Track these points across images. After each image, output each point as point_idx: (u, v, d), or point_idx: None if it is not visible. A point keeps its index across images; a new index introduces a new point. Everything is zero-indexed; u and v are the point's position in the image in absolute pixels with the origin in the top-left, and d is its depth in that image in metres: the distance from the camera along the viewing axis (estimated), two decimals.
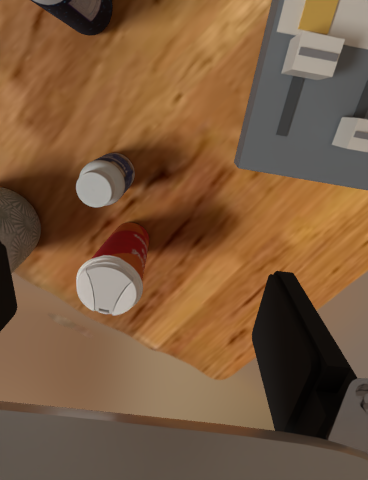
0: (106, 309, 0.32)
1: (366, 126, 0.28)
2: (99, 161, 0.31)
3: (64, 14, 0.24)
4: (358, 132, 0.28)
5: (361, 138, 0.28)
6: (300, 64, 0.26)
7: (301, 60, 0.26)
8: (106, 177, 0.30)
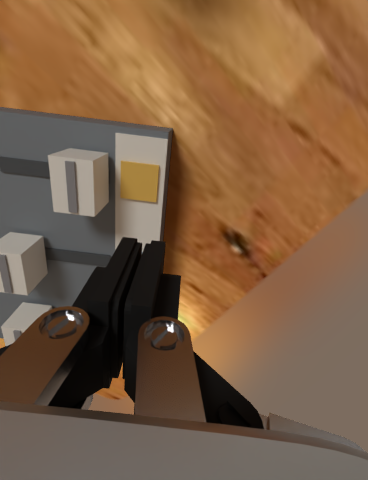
0: None
1: (14, 265, 0.22)
2: None
3: None
4: (4, 258, 0.22)
5: None
6: (56, 166, 0.19)
7: (60, 166, 0.19)
8: None
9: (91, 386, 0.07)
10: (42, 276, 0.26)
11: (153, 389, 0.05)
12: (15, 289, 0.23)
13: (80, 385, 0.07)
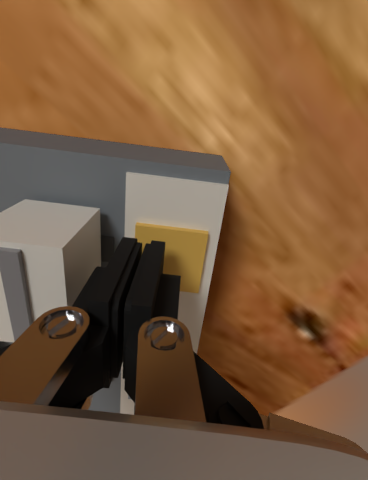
0: None
1: None
2: None
3: None
4: None
5: None
6: None
7: None
8: None
9: (91, 385, 0.07)
10: None
11: (153, 389, 0.05)
12: None
13: (80, 385, 0.07)
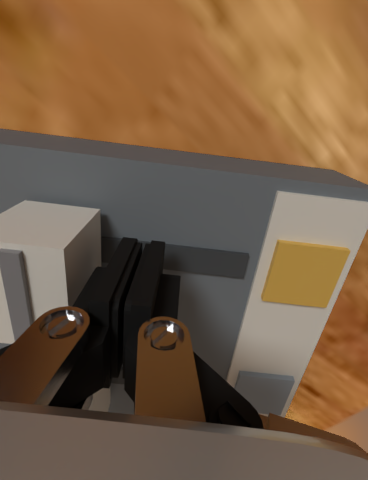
0: None
1: None
2: None
3: None
4: None
5: None
6: None
7: None
8: None
9: (91, 386, 0.07)
10: None
11: (153, 389, 0.05)
12: None
13: (80, 385, 0.07)
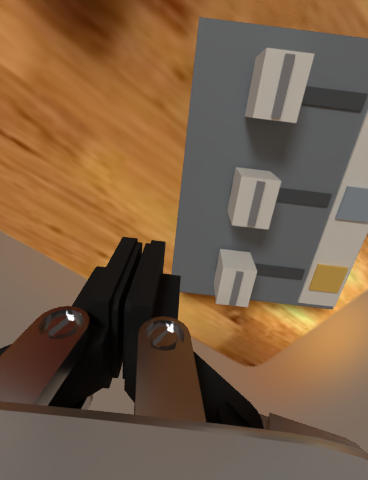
0: None
1: (269, 194, 0.21)
2: None
3: None
4: (264, 185, 0.21)
5: (255, 192, 0.21)
6: (272, 61, 0.17)
7: (277, 61, 0.17)
8: None
9: (91, 385, 0.07)
10: None
11: (153, 389, 0.05)
12: (258, 222, 0.22)
13: (80, 385, 0.07)
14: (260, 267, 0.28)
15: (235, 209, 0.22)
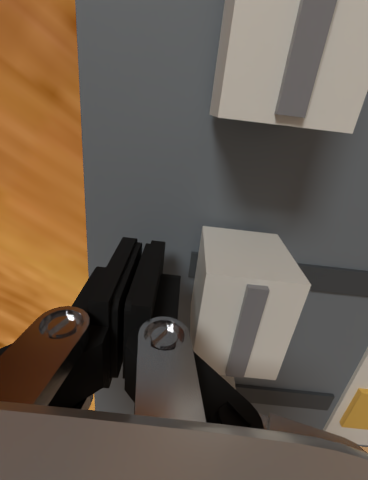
0: None
1: (279, 312, 0.08)
2: None
3: None
4: (265, 297, 0.08)
5: (244, 311, 0.08)
6: None
7: None
8: None
9: (91, 385, 0.07)
10: None
11: (153, 389, 0.05)
12: (251, 367, 0.09)
13: (80, 385, 0.07)
14: (253, 392, 0.15)
15: (196, 341, 0.09)
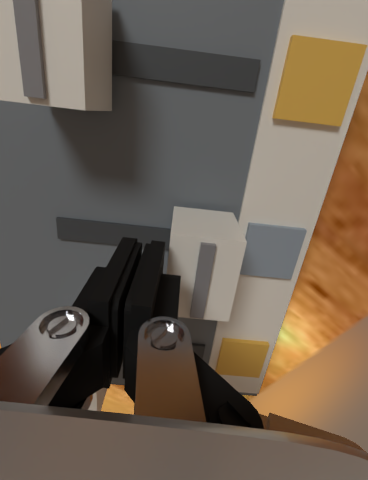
0: None
1: (225, 264, 0.11)
2: None
3: None
4: (214, 251, 0.11)
5: (199, 262, 0.11)
6: None
7: None
8: None
9: (91, 385, 0.07)
10: None
11: (153, 389, 0.05)
12: (209, 311, 0.12)
13: (80, 385, 0.07)
14: None
15: None
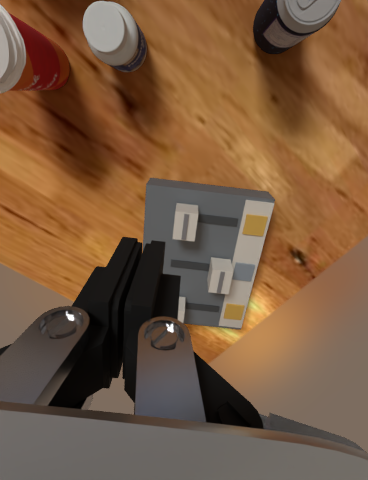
0: None
1: (227, 277, 0.40)
2: (136, 34, 0.28)
3: (269, 9, 0.26)
4: (224, 274, 0.39)
5: (220, 277, 0.39)
6: (178, 216, 0.36)
7: (181, 216, 0.36)
8: (121, 46, 0.27)
9: (91, 385, 0.07)
10: None
11: (153, 389, 0.05)
12: (222, 291, 0.41)
13: (80, 385, 0.07)
14: (192, 305, 0.46)
15: (210, 284, 0.40)
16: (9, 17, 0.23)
